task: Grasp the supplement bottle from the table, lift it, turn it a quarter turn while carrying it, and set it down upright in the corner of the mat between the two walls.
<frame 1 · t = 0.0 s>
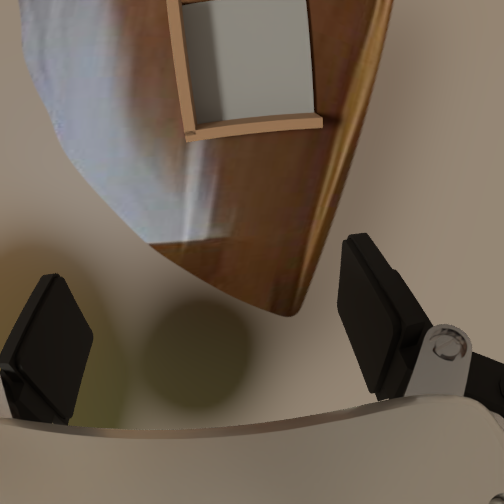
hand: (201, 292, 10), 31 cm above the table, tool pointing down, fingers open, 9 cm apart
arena: (250, 60, 33), on the table
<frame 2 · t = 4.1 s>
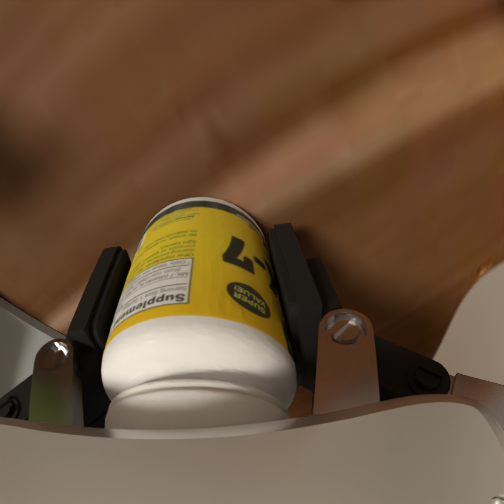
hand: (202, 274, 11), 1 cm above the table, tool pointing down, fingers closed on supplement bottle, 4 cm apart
supplement bottle: (203, 248, 12), on the table, touching gripper
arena: (64, 404, 18), on the table
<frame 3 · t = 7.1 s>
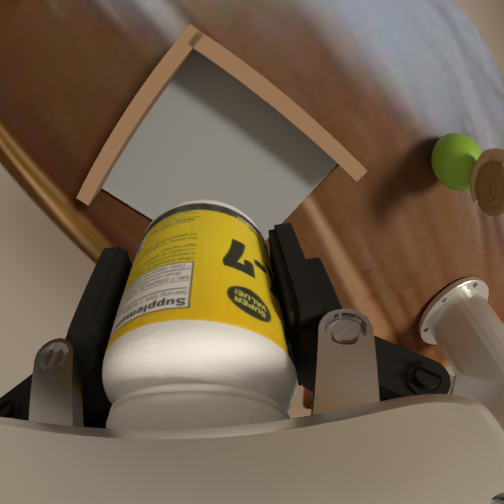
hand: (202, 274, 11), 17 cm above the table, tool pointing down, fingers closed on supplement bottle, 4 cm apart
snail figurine: (441, 147, 27), on the table
supplement bottle: (203, 250, 12), point 16 cm above the table, touching gripper
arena: (212, 166, 26), on the table
when the fingers open (3 cm above the table, at t = 10.5 s): supplement bottle stays where it is, resting on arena.
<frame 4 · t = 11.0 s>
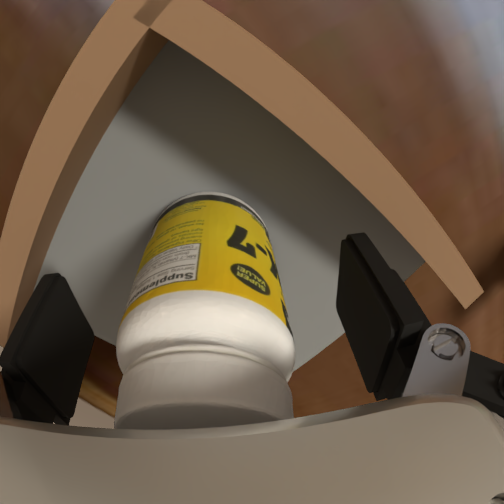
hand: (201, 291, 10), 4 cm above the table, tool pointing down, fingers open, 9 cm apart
supplement bottle: (210, 240, 13), resting on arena
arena: (212, 272, 15), on the table
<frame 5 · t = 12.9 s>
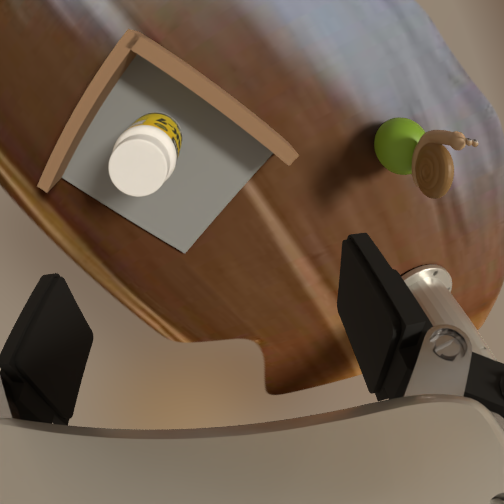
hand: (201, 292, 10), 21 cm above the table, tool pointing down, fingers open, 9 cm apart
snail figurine: (388, 132, 29), on the table
supplement bottle: (156, 136, 26), resting on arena
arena: (158, 155, 28), on the table
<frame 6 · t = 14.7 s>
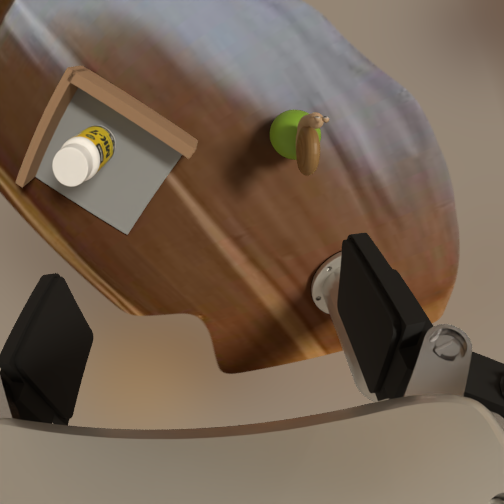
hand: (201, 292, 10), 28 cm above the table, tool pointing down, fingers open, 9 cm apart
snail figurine: (289, 124, 35), on the table
supplement bottle: (98, 143, 33), resting on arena
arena: (101, 157, 34), on the table
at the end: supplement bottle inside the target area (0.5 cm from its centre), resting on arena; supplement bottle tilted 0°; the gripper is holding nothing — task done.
